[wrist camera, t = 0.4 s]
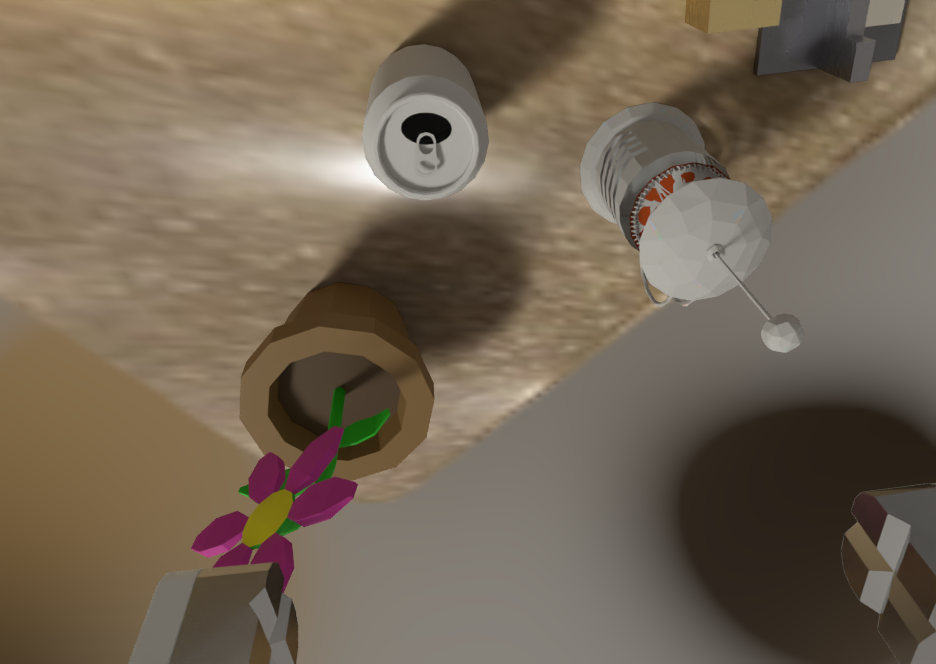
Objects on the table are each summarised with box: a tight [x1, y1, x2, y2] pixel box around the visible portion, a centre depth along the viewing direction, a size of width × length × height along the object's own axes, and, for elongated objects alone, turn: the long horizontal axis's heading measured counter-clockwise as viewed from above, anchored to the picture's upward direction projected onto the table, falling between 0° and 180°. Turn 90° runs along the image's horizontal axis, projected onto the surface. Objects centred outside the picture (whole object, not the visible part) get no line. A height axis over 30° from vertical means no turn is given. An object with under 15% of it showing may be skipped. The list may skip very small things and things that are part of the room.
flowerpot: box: [191, 282, 434, 593], centre depth 48 cm, size 14×14×30 cm
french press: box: [580, 102, 804, 353], centre depth 44 cm, size 10×12×25 cm
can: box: [362, 44, 489, 200], centre depth 45 cm, size 8×8×12 cm
